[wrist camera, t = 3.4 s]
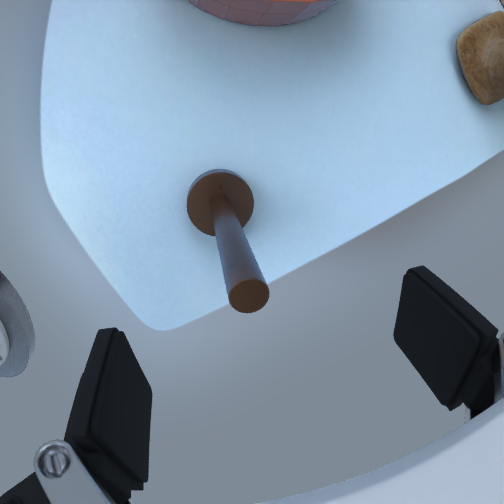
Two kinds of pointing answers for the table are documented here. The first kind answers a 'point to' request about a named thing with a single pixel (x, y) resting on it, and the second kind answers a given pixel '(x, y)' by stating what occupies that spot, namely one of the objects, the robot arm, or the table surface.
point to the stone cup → (483, 57)
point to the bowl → (263, 10)
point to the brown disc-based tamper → (229, 234)
